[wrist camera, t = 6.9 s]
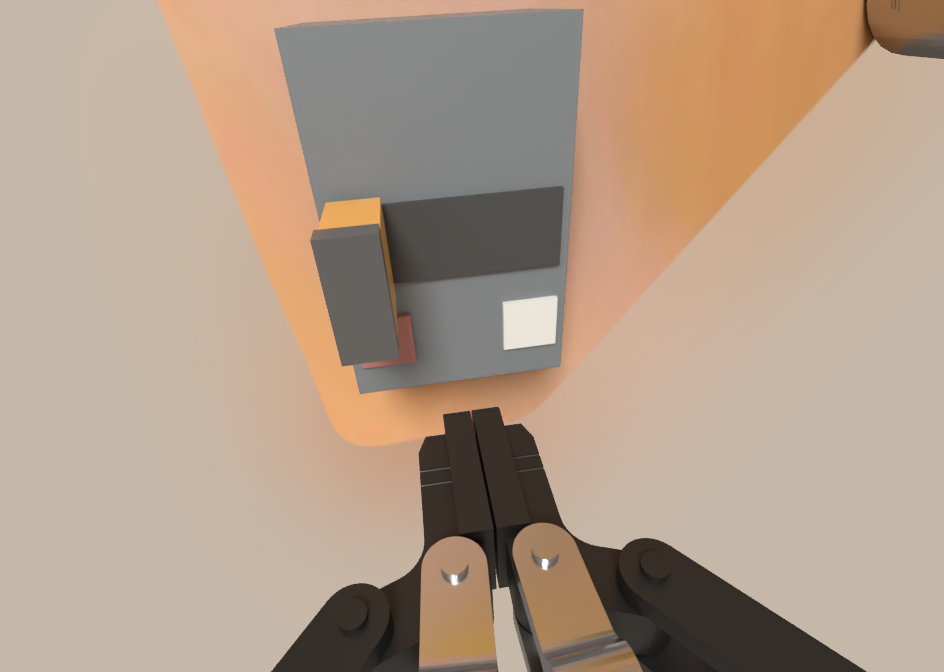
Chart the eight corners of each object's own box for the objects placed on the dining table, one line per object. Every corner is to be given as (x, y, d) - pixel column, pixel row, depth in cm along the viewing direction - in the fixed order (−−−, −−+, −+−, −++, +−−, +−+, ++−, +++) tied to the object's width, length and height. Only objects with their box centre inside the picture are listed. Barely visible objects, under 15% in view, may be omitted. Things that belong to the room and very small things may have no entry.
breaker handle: (379, 190, 22) (378, 233, 18) (396, 300, 25) (399, 358, 21) (323, 195, 21) (310, 240, 17) (348, 306, 25) (341, 366, 20)
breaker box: (532, 8, 26) (586, 9, 19) (527, 301, 36) (561, 369, 29) (302, 23, 25) (272, 29, 18) (363, 321, 35) (359, 397, 28)
